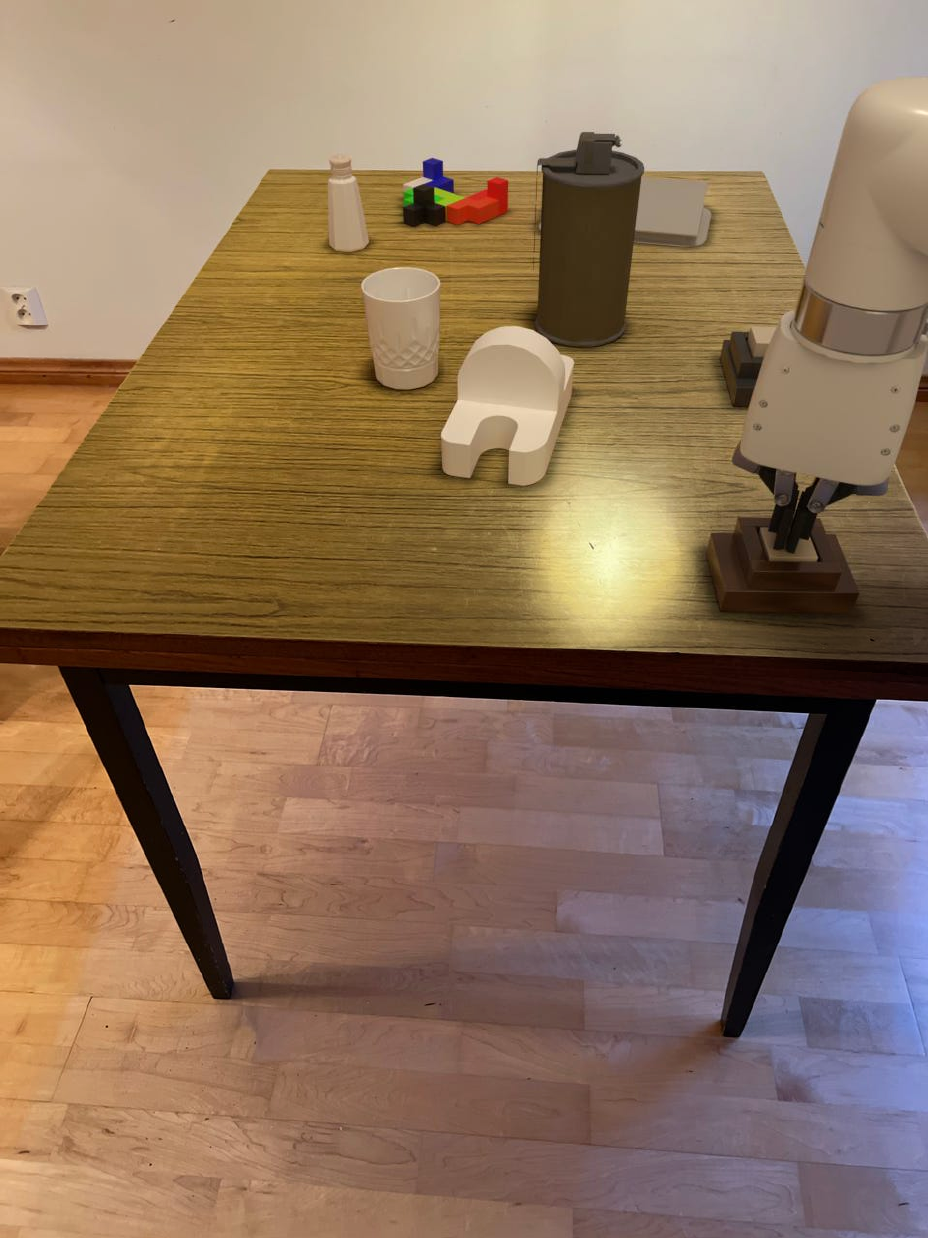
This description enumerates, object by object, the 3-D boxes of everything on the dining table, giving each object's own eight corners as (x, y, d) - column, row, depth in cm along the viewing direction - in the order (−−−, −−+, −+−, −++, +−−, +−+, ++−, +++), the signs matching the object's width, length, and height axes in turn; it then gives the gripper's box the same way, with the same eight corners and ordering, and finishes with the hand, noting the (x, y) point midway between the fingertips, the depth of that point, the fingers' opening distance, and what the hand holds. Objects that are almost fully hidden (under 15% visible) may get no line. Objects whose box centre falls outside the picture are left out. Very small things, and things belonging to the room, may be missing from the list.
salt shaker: (329, 253, 118) (318, 165, 110) (328, 237, 121) (318, 151, 114) (370, 250, 118) (362, 162, 110) (368, 235, 122) (360, 148, 114)
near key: (801, 544, 70) (806, 527, 69) (812, 574, 67) (818, 557, 66) (755, 544, 70) (760, 526, 69) (764, 574, 67) (769, 556, 66)
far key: (789, 359, 88) (793, 343, 87) (752, 359, 89) (756, 342, 87) (782, 342, 91) (786, 326, 90) (747, 341, 91) (750, 325, 90)
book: (556, 193, 132) (557, 165, 129) (712, 206, 127) (718, 178, 124) (534, 233, 121) (535, 203, 119) (704, 248, 117) (709, 218, 114)
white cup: (447, 357, 97) (444, 267, 90) (438, 394, 92) (435, 302, 84) (376, 355, 98) (368, 265, 91) (364, 392, 92) (354, 299, 85)
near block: (828, 554, 73) (841, 515, 70) (851, 613, 68) (867, 574, 65) (706, 552, 73) (714, 514, 70) (720, 611, 68) (730, 573, 65)
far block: (803, 408, 89) (814, 372, 86) (733, 406, 89) (741, 370, 86) (785, 359, 96) (794, 324, 93) (719, 357, 96) (726, 323, 93)
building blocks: (372, 212, 128) (369, 180, 125) (433, 187, 135) (432, 157, 131) (447, 238, 121) (446, 205, 118) (508, 211, 127) (508, 179, 124)
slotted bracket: (540, 488, 80) (546, 391, 73) (438, 473, 82) (434, 378, 75) (573, 387, 92) (581, 297, 85) (484, 377, 94) (484, 287, 87)
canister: (624, 306, 105) (645, 121, 91) (627, 349, 98) (650, 154, 84) (533, 304, 106) (540, 120, 92) (529, 346, 99) (536, 152, 85)
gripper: (989, 306, 55) (891, 534, 68) (746, 270, 59) (698, 491, 72) (991, 362, 50) (885, 596, 63) (726, 319, 54) (678, 547, 67)
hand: (786, 540), depth 68 cm, fingers closed
